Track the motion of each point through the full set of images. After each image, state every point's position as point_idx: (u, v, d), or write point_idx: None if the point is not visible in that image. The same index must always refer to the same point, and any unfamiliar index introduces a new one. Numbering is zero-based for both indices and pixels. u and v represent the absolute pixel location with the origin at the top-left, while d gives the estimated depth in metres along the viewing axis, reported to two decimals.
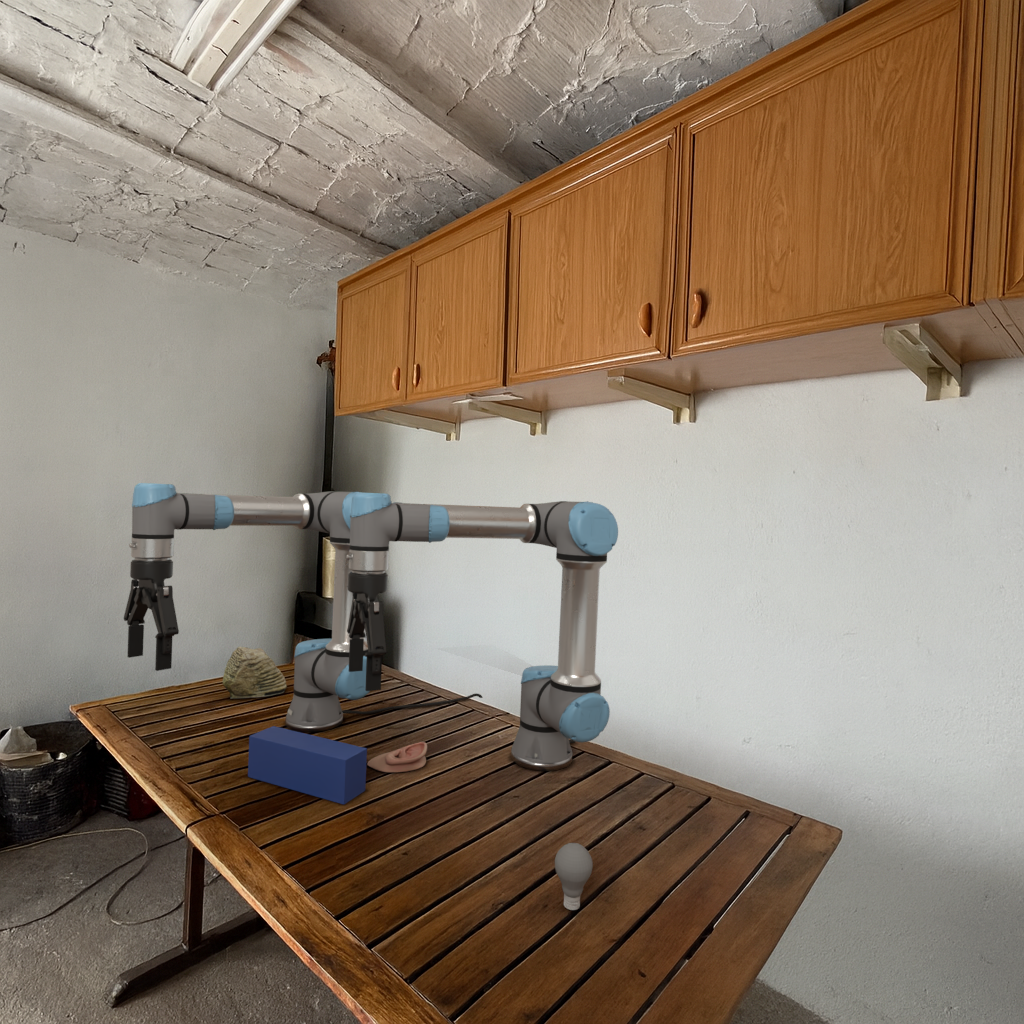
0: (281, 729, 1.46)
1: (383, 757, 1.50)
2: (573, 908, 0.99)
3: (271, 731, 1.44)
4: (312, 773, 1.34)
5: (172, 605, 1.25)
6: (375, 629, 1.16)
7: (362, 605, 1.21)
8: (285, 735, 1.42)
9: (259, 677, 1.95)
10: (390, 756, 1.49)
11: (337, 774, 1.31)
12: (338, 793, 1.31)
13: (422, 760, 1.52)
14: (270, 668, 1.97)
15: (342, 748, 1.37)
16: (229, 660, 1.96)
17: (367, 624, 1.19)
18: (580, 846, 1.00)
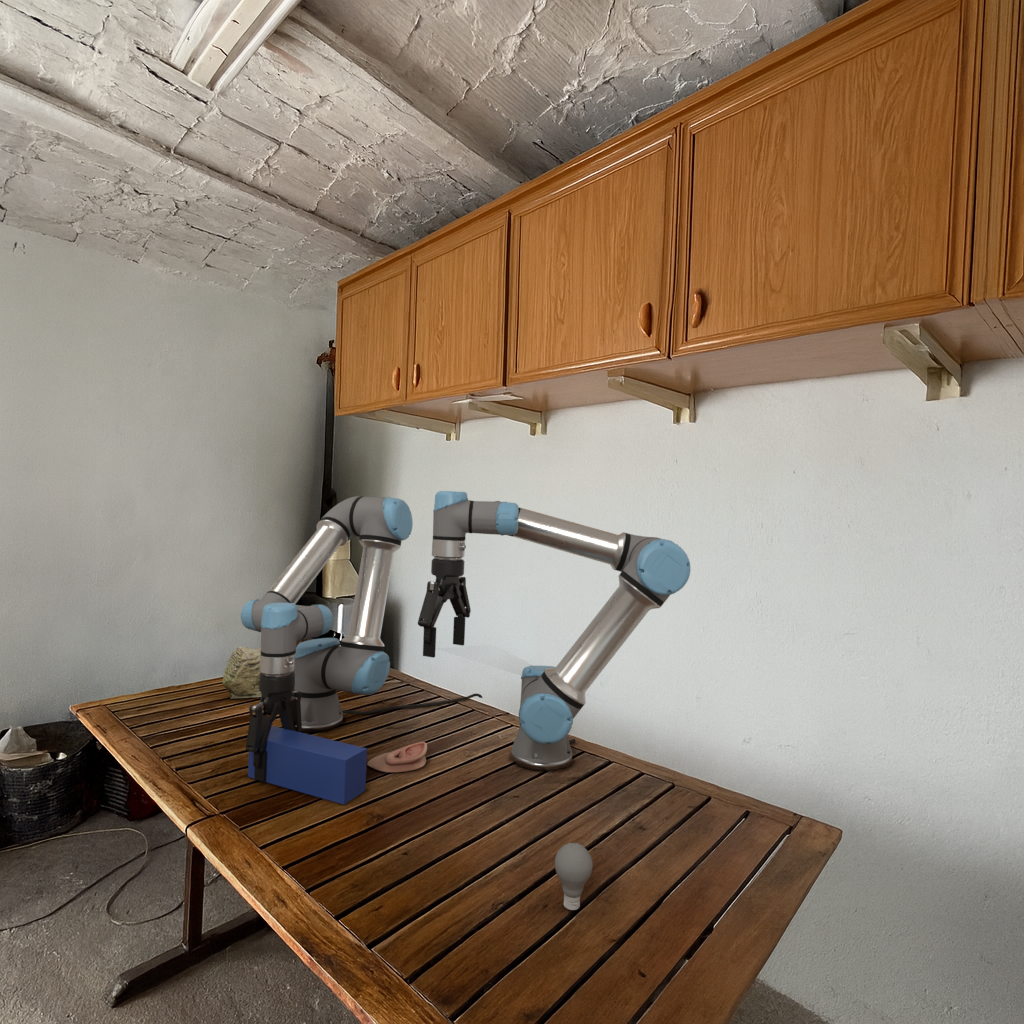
0: (281, 729, 1.46)
1: (383, 757, 1.50)
2: (573, 908, 0.99)
3: (271, 731, 1.44)
4: (312, 773, 1.34)
5: None
6: None
7: None
8: (285, 735, 1.42)
9: (259, 677, 1.95)
10: (390, 756, 1.49)
11: (337, 774, 1.31)
12: (338, 793, 1.31)
13: (422, 760, 1.52)
14: None
15: (342, 748, 1.37)
16: (229, 660, 1.96)
17: None
18: (580, 846, 1.00)
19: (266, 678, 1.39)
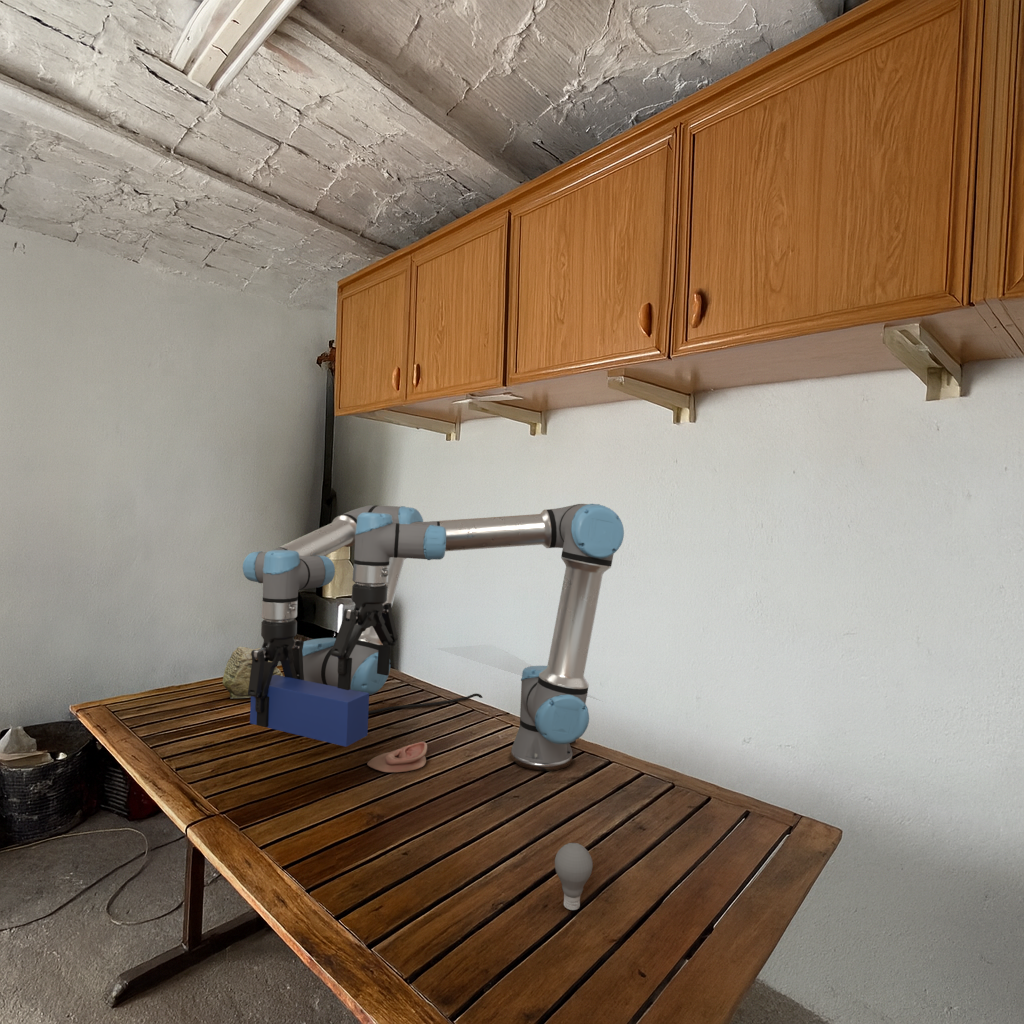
0: (283, 677, 1.46)
1: (383, 757, 1.50)
2: (573, 908, 0.99)
3: (273, 679, 1.44)
4: (314, 716, 1.34)
5: None
6: None
7: None
8: (287, 682, 1.42)
9: None
10: (390, 756, 1.49)
11: (339, 716, 1.31)
12: (340, 736, 1.31)
13: (422, 760, 1.52)
14: None
15: (344, 692, 1.37)
16: (229, 660, 1.96)
17: None
18: (580, 846, 1.00)
19: (268, 624, 1.39)
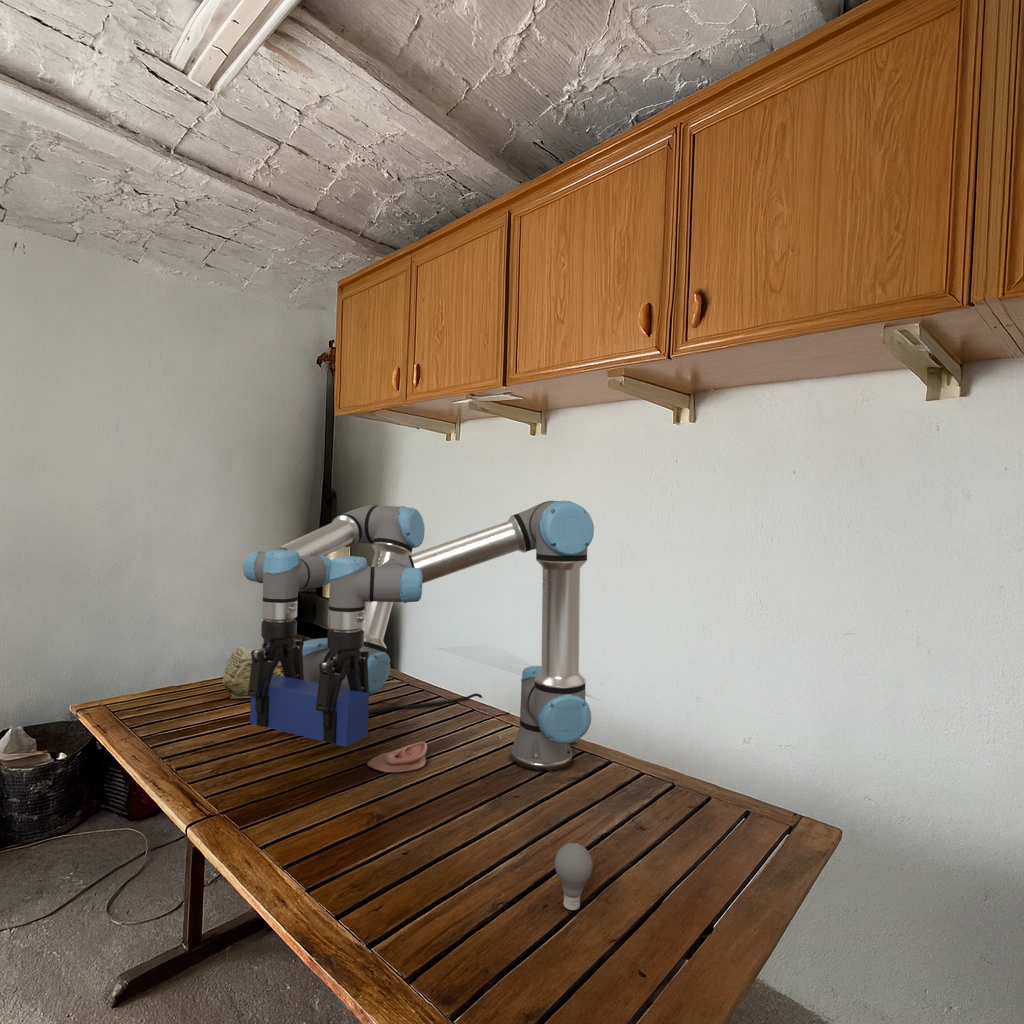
0: (283, 677, 1.46)
1: (383, 757, 1.50)
2: (573, 908, 0.99)
3: (273, 679, 1.44)
4: (314, 716, 1.34)
5: None
6: None
7: None
8: (287, 682, 1.42)
9: None
10: (390, 756, 1.49)
11: (339, 716, 1.31)
12: (340, 736, 1.31)
13: (422, 760, 1.52)
14: None
15: (344, 692, 1.37)
16: (229, 660, 1.96)
17: None
18: (580, 846, 1.00)
19: (268, 623, 1.39)
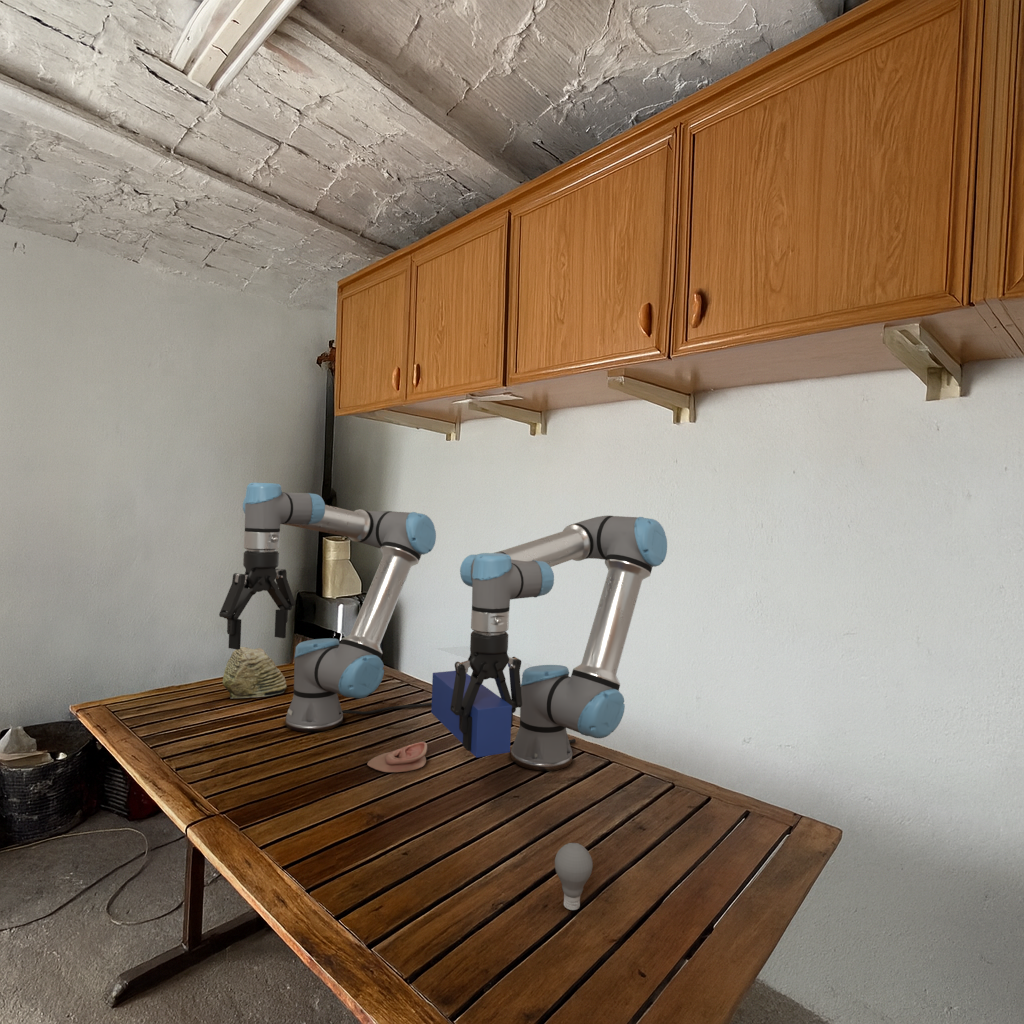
0: None
1: (383, 757, 1.50)
2: (573, 908, 0.99)
3: (453, 673, 1.45)
4: None
5: None
6: None
7: None
8: None
9: (259, 677, 1.95)
10: (390, 756, 1.49)
11: (473, 723, 1.23)
12: (473, 745, 1.23)
13: (422, 760, 1.52)
14: (270, 668, 1.97)
15: (491, 699, 1.27)
16: (229, 660, 1.96)
17: None
18: (580, 846, 1.00)
19: (250, 553, 1.41)
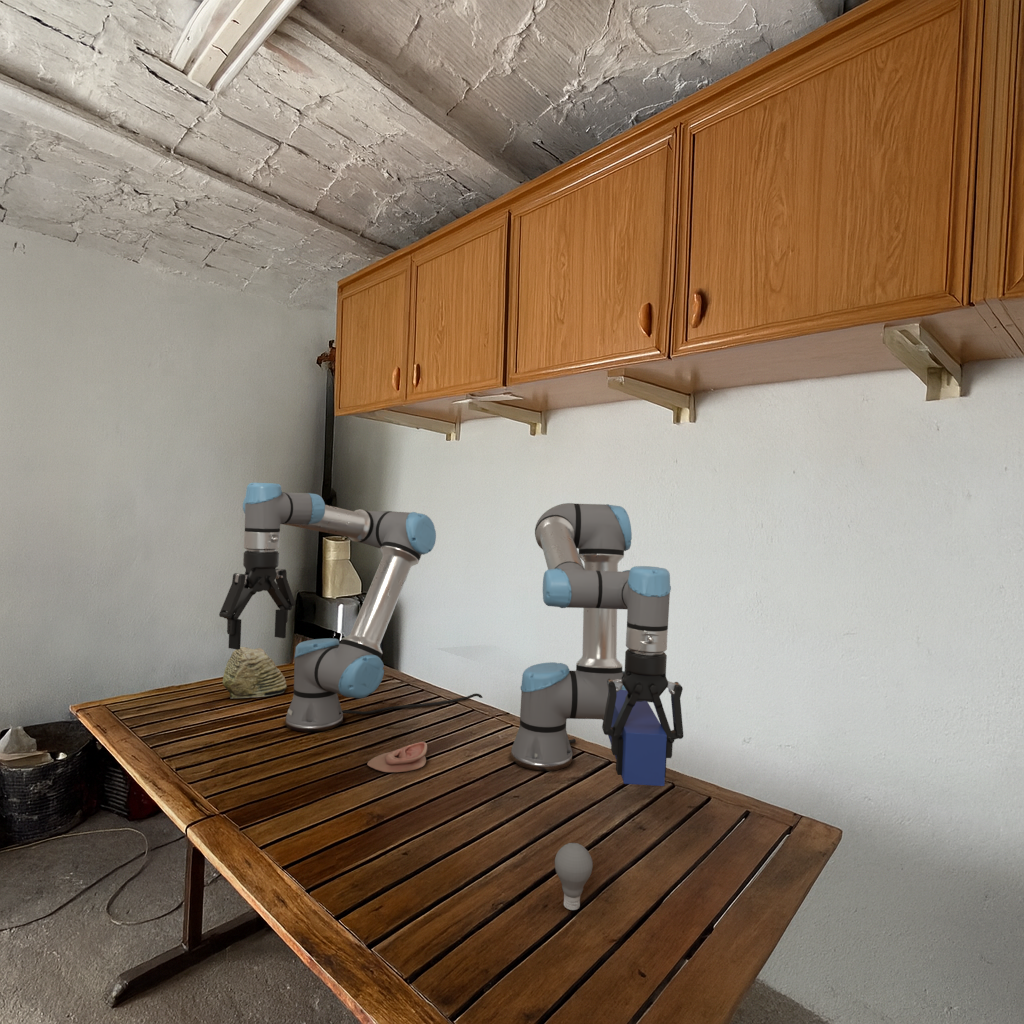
0: None
1: (383, 757, 1.50)
2: (573, 908, 0.99)
3: None
4: None
5: None
6: None
7: (656, 688, 1.16)
8: None
9: (259, 677, 1.95)
10: (390, 756, 1.49)
11: (623, 746, 1.16)
12: (623, 769, 1.15)
13: (422, 760, 1.52)
14: (270, 668, 1.97)
15: (648, 725, 1.18)
16: (229, 660, 1.96)
17: None
18: (580, 846, 1.00)
19: (250, 553, 1.41)
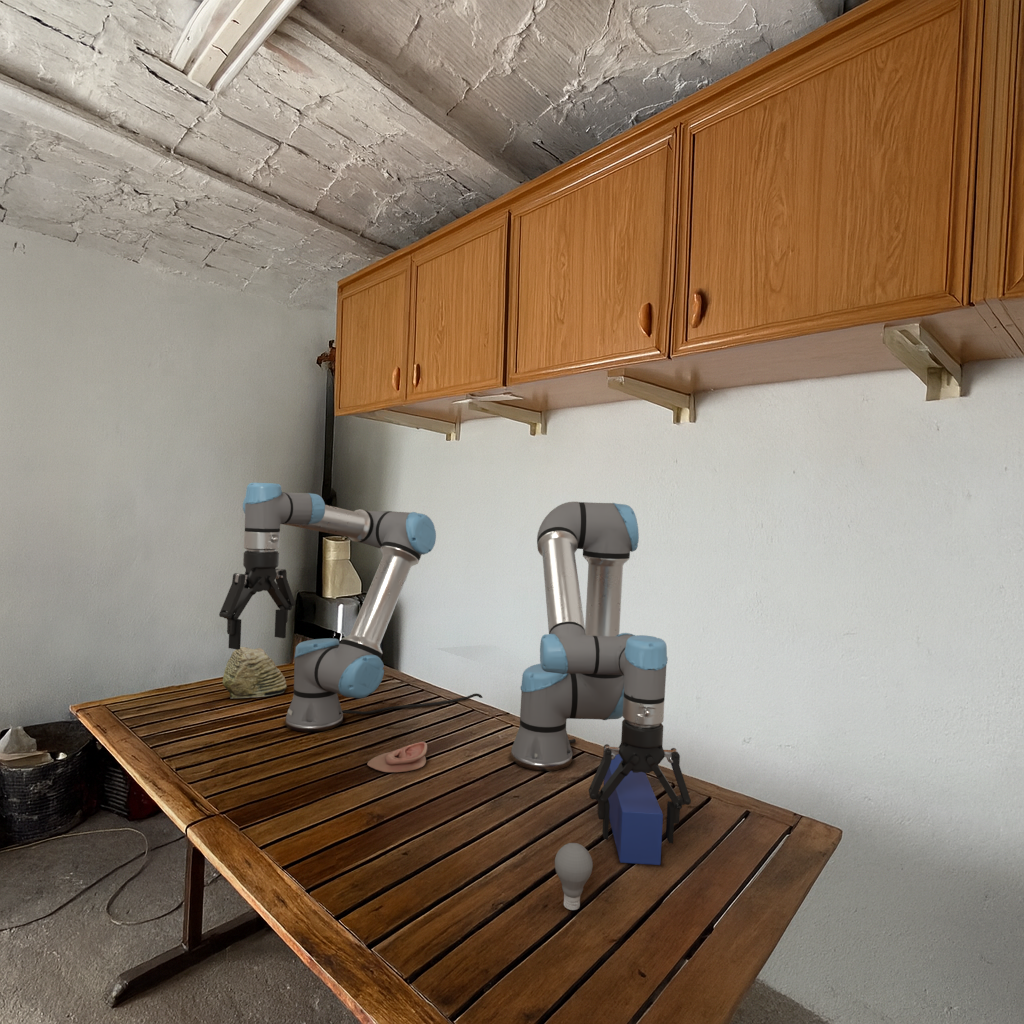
0: None
1: (383, 757, 1.50)
2: (573, 908, 0.99)
3: None
4: (615, 813, 1.22)
5: None
6: None
7: (653, 758, 1.16)
8: None
9: (259, 677, 1.95)
10: (390, 756, 1.49)
11: (620, 824, 1.16)
12: (619, 847, 1.15)
13: (422, 760, 1.52)
14: (270, 668, 1.97)
15: (644, 801, 1.18)
16: (229, 660, 1.96)
17: (664, 776, 1.17)
18: (580, 846, 1.00)
19: (250, 553, 1.41)
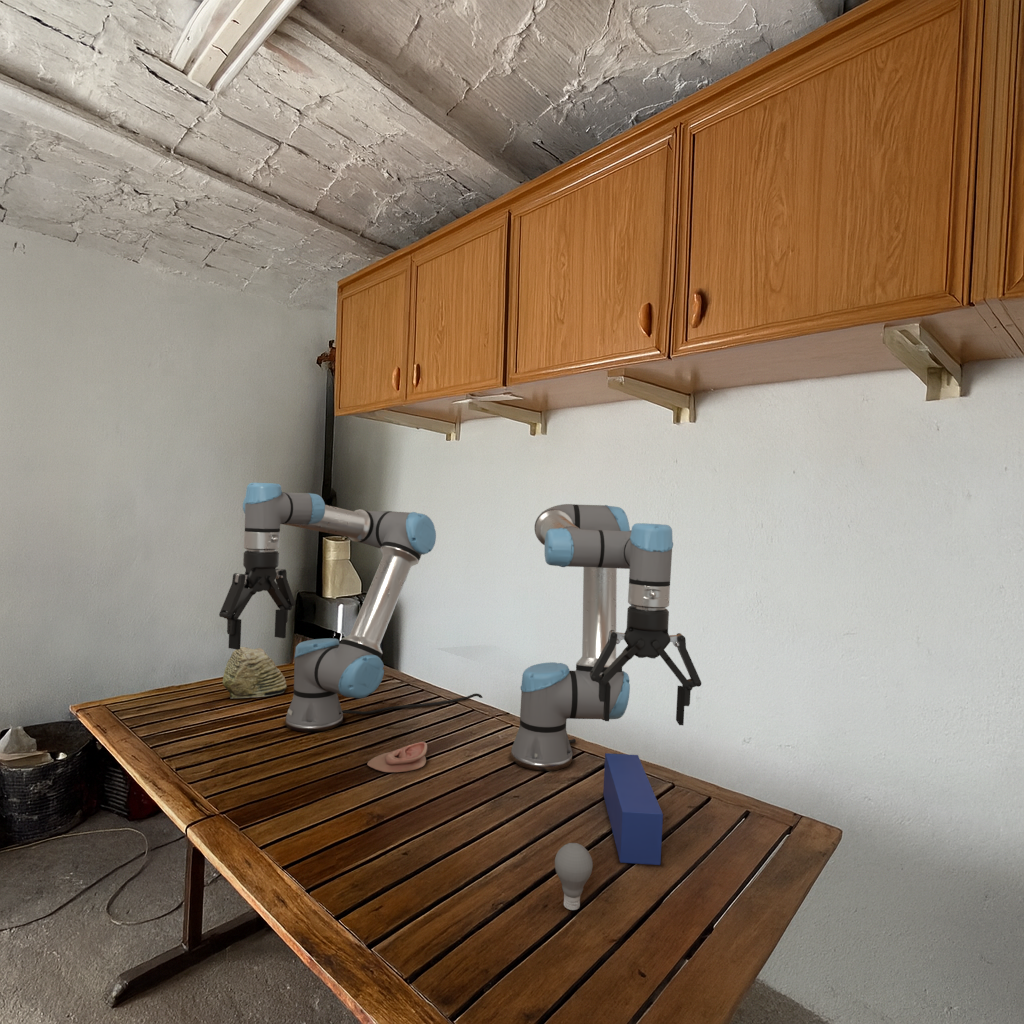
0: (636, 760, 1.37)
1: (383, 757, 1.50)
2: (573, 908, 0.99)
3: (625, 758, 1.38)
4: (615, 813, 1.22)
5: None
6: None
7: (658, 643, 1.16)
8: (627, 766, 1.34)
9: (259, 677, 1.95)
10: (390, 756, 1.49)
11: (620, 824, 1.16)
12: (619, 847, 1.15)
13: (422, 760, 1.52)
14: (270, 668, 1.97)
15: (644, 801, 1.18)
16: (229, 660, 1.96)
17: (671, 659, 1.16)
18: (580, 846, 1.00)
19: (250, 553, 1.41)
